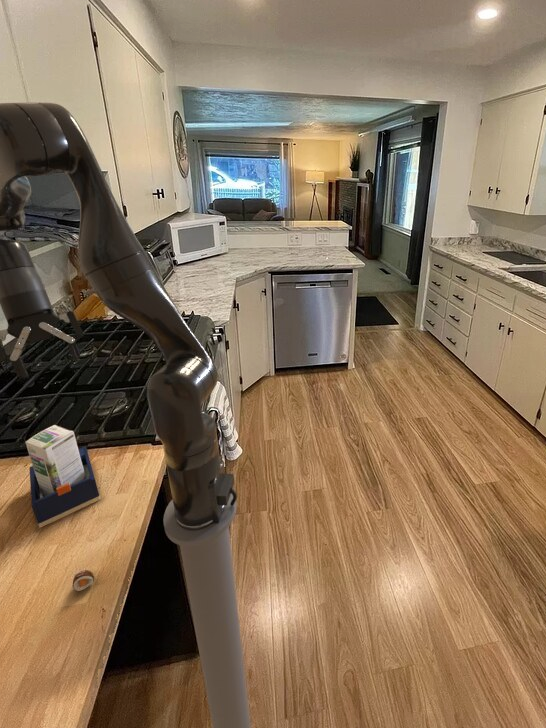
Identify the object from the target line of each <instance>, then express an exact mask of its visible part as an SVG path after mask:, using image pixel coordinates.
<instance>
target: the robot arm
mask: <svg viewBox="0 0 546 728" xmlns="http://www.w3.org/2000/svg"><path fill="white" fill-rule="evenodd" d="M60 173H65V174H66V175H67V177H68V178H69V181H70V182H71V184H72V187H73V188H74V191H75V193H76V196H77V198H78V202H79V211H80V212H79V214H80V217H79V229H78V239H77V260H78V265H79V268H80V269H81V272H82V273H83V275H84V276H85V278H86V280H87V282H89V283H88V284H90V286H91V287H92V289H93V291H94V292H95V294H96V296H97V297H98V299H99V300H100V302H102V304H103V305H104V306H105V307H106V308H108V309H109V310H110V311H112V312H113V313H114V314H115V315H117V316H118V317H120V318H121V319H124V320H125V321H127V322H128V323H130V324H132V325H133V326H135V327H137V328H138V329H139V330H141V331H142V332H144V333H145V334H146V335H147V336H148V337H149V338H150V339H151V341H152V342H153V343H154V344H155V346H156V347H157V349H158V350H159V352H160V353H161V355H162V357H163V360H164V361H165V364H164V365H162V367H160V368H158V370H157V371H156V372H155V373H154V374H153V375H152V376H151V377H150V378H149V380H148V382H147V384H146V393H145V394H146V401H147V407H148V409H149V413H150V418H151V421H152V425H153V428H154V432H155V435H156V436H157V438H158V440H160V442H161V444H162V446H163V447H162V448H163V452H164V459H165V464H166V470H167V475H168V482H169V487H170V492H171V493H170V494H171V498H172V499H173V504H174V511H175V518H176V522H177V523H178V525H179V526H180V527H182V528H184V529H186V530H200V529H203V528H206V527H208V526H210V525H211V524H214V523H219V522H220V519H221V516H222V513H223V511H224V508H225V506H227V504H228V501H229V498H230V494H232V495H233V499H232V501H231V503H230V504H231V505H232V506H233V505H234V503H235V501H236V502H237V500H238V494H237V492H236V491H235V489H234V485H235V475H234V473H226V469H225V462H224V460H221V459H220V451H219V442H218V441H219V440H218V430H217V425H216V421H215V419H214V418H213V417H212V416H211V415H210V414H209V413H205V412H203V409H202V405H203V404H204V403H205V401H206V400H207V399H208V397H209V396H210V395H211V394H212V392H213V391H214V390H215V388H216V386H217V384H218V381H219V379H218V378H219V376H218V370H217V367H216V364H215V363H214V361H213V359H212V358H211V356H210V354H209V353H208V351H207V350H206V349H205V347H204V346H203V345H202V343H201V342H200V341H199V339H198V338H197V337H196V334H194V332H193V331H192V329H191V328H190V327H189V325H188V323H187V321H186V320H185V319H184V317H183V316H182V314H181V313H180V310H179V309H178V307H177V306H176V304H175V302H174V301H173V299H172V297H171V296H170V293H169V292H168V290H167V289H166V287H165V286H164V285H165V284H163V282H162V279H161V277H160V276H159V274H158V272H157V270H156V268H155V267H154V265H153V263H152V261H151V259H150V258H149V256H148V254H147V252H146V251H145V249H144V247H143V246H142V244H141V242H140V241H139V239H138V238H137V236H136V234H135V233H134V231H133V229H132V228H131V226H130V224H129V222H128V221H127V218H126V217H125V215H124V213H123V211H122V209H121V207H120V206H119V204H118V202H117V200H116V198H115V196H114V194H113V192H112V190H111V188H110V186H109V183H108V182H107V179H106V177H105V175H104V173H103V170H102V169H101V167H100V164H99V162H98V160H97V158H96V155H95V153H94V151H93V148H92V147H91V145H90V143H89V141H88V138H87V136H86V135H85V133H84V131H83V129H82V128H81V125H80V124H79V122H78V121H77V120H76V117H74V116H73V114H71V112H70V111H69V110H68V109H67V108H66V107H64V106H63V105H61V104H58V103H56V102H0V232H10V231H16V230H20V229H21V228H23V227H24V226H25V225H26V214H25V209H24V208H25V206H26V205H27V204H28V202H29V200H30V198H31V196H32V186H31V182H30V181H29V179H28V177H39V176H47V175H53V174H60ZM31 256H32V255H31V253H30V250H29V249H28V247H27V245H26V244H25V242H23V241H21V240H14V239H5V238H0V308H1V310H2V313H3V316H4V317H5V320H6V323H7V328H4V329H1V330H0V362H10V363H11V364H12V366H13V369H14V371H15V373H16V375H17V376H18V377H19V378H20V377H22V379H27V378H29V373H28V371H27V368H26V366H25V363H24V360H23V359H22V358H21V356H22V354H23V351H24V350H25V348H26V346H27V344H29V345H30V344H31V345H32V344H36V343H39V342H41V341H46V340H49V339H51V338H53V337H57V338H59V339H61V340H63V341H65V342H67V344H68V345H67V347H68V349H69V352H70V355H71V356H72V359H73V361H74V362H78V361H79V358H81V353H80V350H79V348H78V345H77V341H78V340H80V339H81V338H83V337H84V335H85V334H84V332H83V329H82V327H81V325H80V323H79V321H78V318H77V317H76V315H75V313H74V311H72V310H68V311H67V312H64V313H62V314H58V315H57V314H56V313H55V310H54V308H53V306H52V303H51V300H50V298H49V295H48V293H47V290H46V286H45V284H44V283H43V280H42V278H41V276H40V274H39V272H38V271H37V269H36V267H35V263H34V261H33V259H32V257H31ZM61 321H64V322H65V323H66V324H69V323H70V325H71V327H72V328H73V330H74V335H72V336H71V335H68V334H67V333H65V332H63V331H61V330H60V329H58V326H59V324H60V322H61ZM7 335H9V336H11V337H13V338H15V339H17V340H16V342H15V345H14V348H13V350H12V352H11V354H7V352H6V349H5V345H4V343H3V342H4V341H6V339H7ZM172 499H171V500H172Z"/></svg>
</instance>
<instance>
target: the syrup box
mask: <svg viewBox="0 0 546 728" xmlns="http://www.w3.org/2000/svg"><path fill="white" fill-rule="evenodd" d="M25 445H26V448H27V452H28V456H29V459H30V461H31V464H32V465H31V466H33V468H34V471H35V474H36V478H37V481H38V484H39V487H40V490H41V493H42V496H43V497H45V496H47V495H49V494H52V493H54V492H56V491H57V490H56V488H57V487H60V486H62V485H64V484H67V483H69V485H73V484H75V483H77V482H80V481H82V480H84V479H86V477H85V473H84V469H83V465H82V462H81V458H80V454H79V450H78V449H79V447H78V443H77V439H76V435H75V432H74V430H70V429H67V428H65V427H62V426H60V425H56V424H53V425H51V426H49V427H47V428H45V429H43V430H41V431H39V432H38V433H37V434H35V435H33V436H32V437H30V438H28V439H27V440H26V441H25Z"/></svg>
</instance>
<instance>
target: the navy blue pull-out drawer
mask: <svg viewBox="0 0 546 728" xmlns="http://www.w3.org/2000/svg"><path fill="white" fill-rule="evenodd" d="M78 450H79V454H80V458H81V462H82V465H83V469H84V473H85V477H86V479H84V480H82V481H80V482H77V483H75V484H73V485H69V483H67V484H64V485H62V486H60V487H57V488H56V490H57V491H56V492H54V493H52V494H49V495H47V496H45V497H43V496H42V493H41V490H40V487H39V484H38V481H37V478H36V474H35V471H34V468H33V465H31V466H29V467H28V468H29V469H28V470H29V482H30V498H31V499H30V500H31V501H30V502H31V508H32V511H33V513H34V516H35V520H36V522H37V525H38V528H39V529H40V528H43V527H44V526H46V525H49V524H51V523H54V522H56V521H57V520H60V519H62V518H64V517H66V516H68V515H70V514H72V513H75V512H77V511H79V510H82V509H83V508H85V507H88V506H90V505H92V504H94V503H96V502H98V501H100V500H101V496H100V492H99V489H98V485H97V482H96V478H95V474H94V470H93V468H92V463H91V459H90V457H89V451H88V449H87V446H86V445H84V446H81V447H78Z"/></svg>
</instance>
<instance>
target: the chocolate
mask: <svg viewBox="0 0 546 728" xmlns="http://www.w3.org/2000/svg"><path fill="white" fill-rule="evenodd" d="M71 574H72V575H74V577H73V580H72V585H71V586H72V588H73V589H74V590H75V591H76V592H80V591H84V590H85V589H87V588H89V587H90V586H91V585H92V584H93V583H94V582H95V575H94V573H93V572H92V571H91V570H88V569H87V568H83V569H80V570H77V571H76V572H75V571H73V572H72V573H71Z"/></svg>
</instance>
